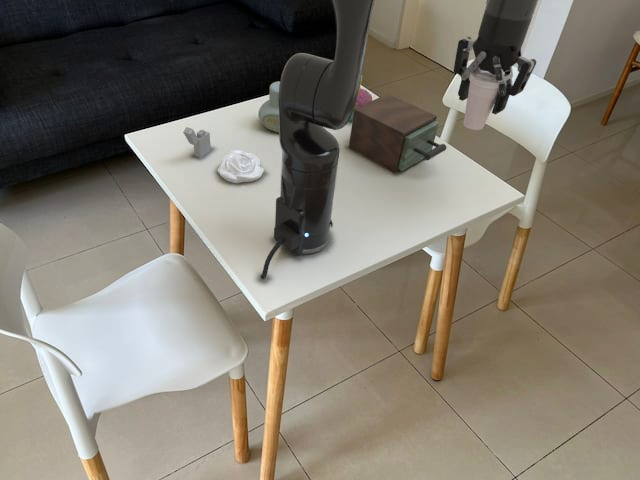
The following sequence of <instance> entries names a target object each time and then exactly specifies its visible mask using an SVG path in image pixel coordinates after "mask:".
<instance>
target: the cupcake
mask: <svg viewBox="0 0 640 480" xmlns="http://www.w3.org/2000/svg"><path fill="white" fill-rule="evenodd" d="M362 81H363V75H362V76H361V81H360V87H359V92H358V96H357V100H356V104H355V107H354V109H355V108H357V107H360V106H362V105H364V104H366V103H368V102H370V101H373V96H372V94H371V93H370V92H369V91H368V90H366V89H364V88H362V87H361V85H362ZM353 113H354V110H353ZM353 113H352V115H351V117H350V119H349V121H350V122H352V120H353Z"/></svg>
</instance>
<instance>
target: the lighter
mask: <svg viewBox="0 0 640 480" xmlns="http://www.w3.org/2000/svg"><path fill="white" fill-rule="evenodd" d="M182 133H183V135H184V136H185V138H186V140H187V141H188V144H190V145H193V153H194V157H195V158H199V159H202V158H203V157H204V156H205V155H207V154H208V153H209V152H211V150H212V148H211V146H212V145H211V132H210V131H206V130H205V129H200V130H198V131H197V132H195V130H194V129H193V128H191V127H188V126H186V127H185V128H184V130H183V132H182Z"/></svg>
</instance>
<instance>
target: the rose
mask: <svg viewBox="0 0 640 480" xmlns="http://www.w3.org/2000/svg"><path fill="white" fill-rule="evenodd" d="M264 171H265V170H264V168H263V167H262V166H261V159H260V158H259V157H258V156H256V155H255V154H253V153H250V152H245V151H243V150H241V149H235V150H231V151H229V152H227V153H226V154H225V155H224V156H223V157H222V159H221V161H220V165H219V166H218V169H217V173H218V174H219V176H221V177H222V178H223V179H224V180H225V181H226V182H229V183H232V184H241V183H251V182H255V181H257V180H259V179H260V178H261V177H262V175H263V174H264Z"/></svg>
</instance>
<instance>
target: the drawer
mask: <svg viewBox="0 0 640 480" xmlns="http://www.w3.org/2000/svg"><path fill="white" fill-rule="evenodd" d="M439 125H440V122H439V121H437V120H436V121H433V122H431V123H430V124H428V125H425V126H423V127H421V128H419V129H417V130H415V131H413V132H412V133H410V134H408V135H406V136H405V140H404V144H403V149H402V153H401V158H400V162H399V167H398V169H400V171H401V172H404V171H405V170H407V169H408V168H410V167H412V166H414V165H415V164H417V163H419V162H420V161H422V160H423V159H424V160H426V161H430V160H431V159H433V158H434V157H436V156H438V155H439V154H441V153H443V152H445V151H446V150H447V144H445V143H441V144H439V143H437V142H435V139H436V136H437V132H438V127H439ZM433 147H434V148H433Z"/></svg>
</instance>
